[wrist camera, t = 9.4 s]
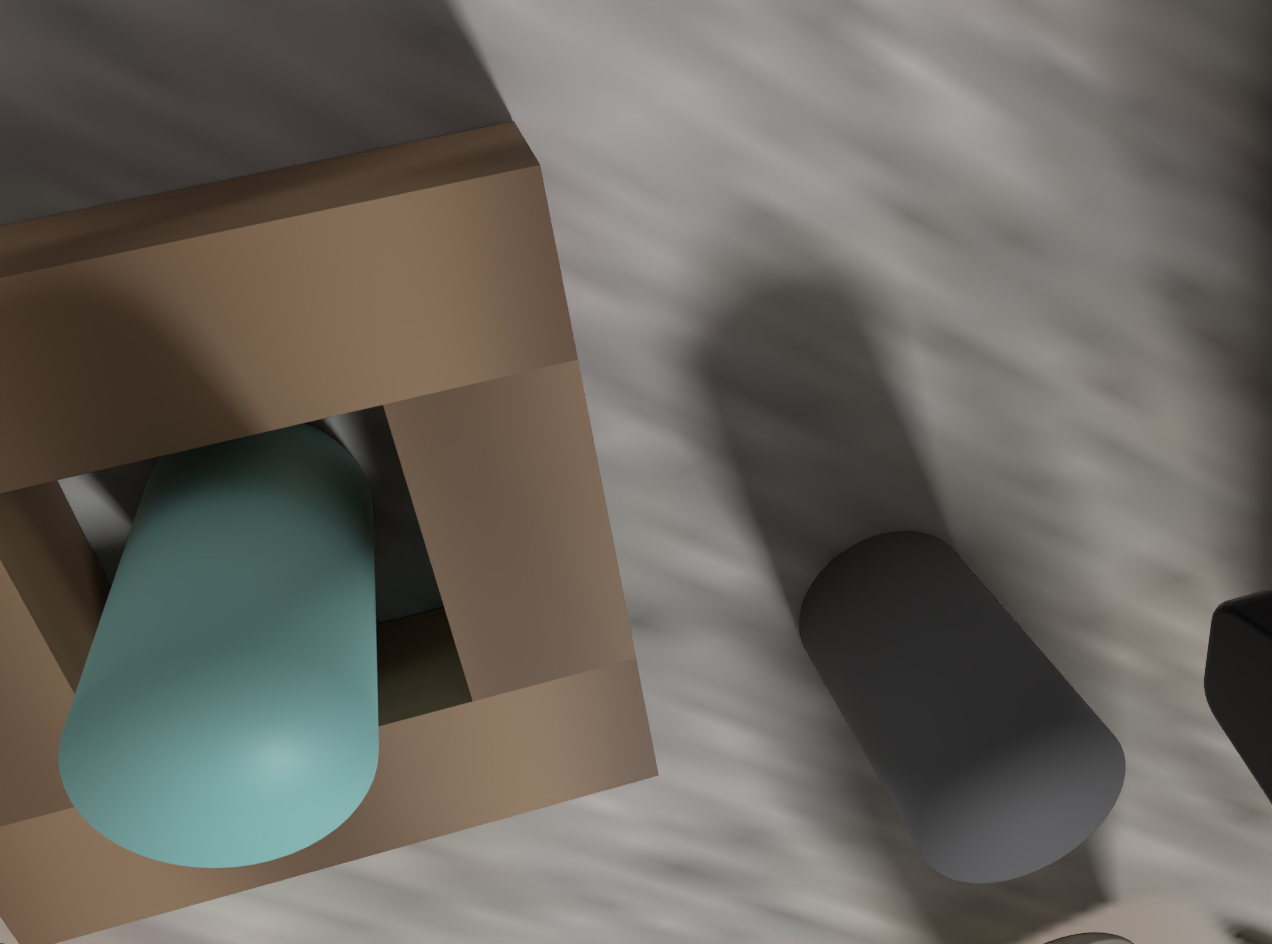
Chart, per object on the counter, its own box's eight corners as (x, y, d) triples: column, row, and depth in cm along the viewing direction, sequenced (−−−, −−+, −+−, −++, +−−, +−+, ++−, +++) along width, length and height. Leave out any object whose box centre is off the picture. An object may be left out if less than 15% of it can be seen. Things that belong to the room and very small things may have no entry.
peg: (338, 390, 19) (330, 605, 14) (396, 572, 21) (411, 821, 16) (107, 444, 19) (3, 687, 13) (190, 623, 21) (128, 899, 15)
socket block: (513, 121, 18) (540, 164, 15) (626, 677, 24) (658, 775, 21) (-271, 281, 16) (-388, 359, 14) (62, 827, 22) (24, 952, 20)
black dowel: (967, 512, 24) (1134, 690, 19) (965, 652, 26) (1115, 847, 21) (793, 557, 23) (915, 753, 18) (805, 696, 25) (918, 907, 20)
